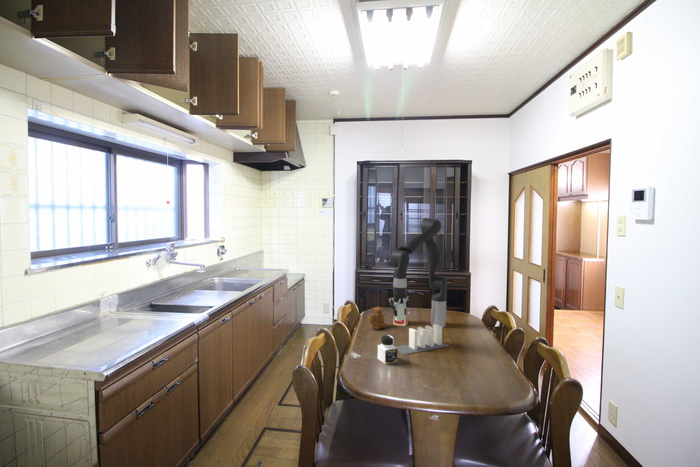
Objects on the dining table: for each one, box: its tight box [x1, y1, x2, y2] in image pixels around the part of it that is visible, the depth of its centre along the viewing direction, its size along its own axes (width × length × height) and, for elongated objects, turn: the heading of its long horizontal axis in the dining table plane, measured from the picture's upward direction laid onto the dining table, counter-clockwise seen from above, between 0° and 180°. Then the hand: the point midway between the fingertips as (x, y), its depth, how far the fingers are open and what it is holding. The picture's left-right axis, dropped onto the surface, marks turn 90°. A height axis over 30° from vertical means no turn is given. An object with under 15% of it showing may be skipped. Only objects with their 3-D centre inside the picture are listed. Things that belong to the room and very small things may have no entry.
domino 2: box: [408, 327, 418, 350], centre depth 169 cm, size 2×5×10 cm, turn 24°
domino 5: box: [432, 324, 443, 345], centre depth 176 cm, size 2×5×10 cm, turn 25°
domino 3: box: [416, 326, 426, 348], centre depth 171 cm, size 2×5×10 cm, turn 24°
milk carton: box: [392, 300, 409, 327], centre depth 212 cm, size 9×9×20 cm
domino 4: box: [424, 325, 434, 347], centre depth 174 cm, size 2×5×10 cm, turn 24°
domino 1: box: [395, 303, 405, 321], centre depth 176 cm, size 2×5×10 cm, turn 114°
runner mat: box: [396, 341, 450, 356], centre depth 171 cm, size 10×30×1 cm, turn 114°
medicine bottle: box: [377, 334, 398, 365], centre depth 154 cm, size 7×7×12 cm
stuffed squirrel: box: [367, 306, 389, 331], centre depth 203 cm, size 10×14×13 cm
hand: (399, 315), depth 176 cm, fingers closed on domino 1, 5 cm apart
